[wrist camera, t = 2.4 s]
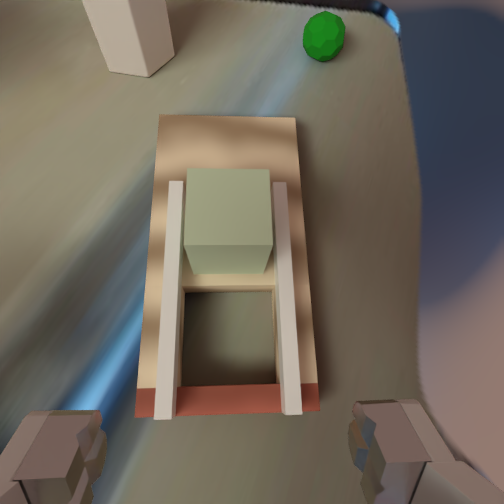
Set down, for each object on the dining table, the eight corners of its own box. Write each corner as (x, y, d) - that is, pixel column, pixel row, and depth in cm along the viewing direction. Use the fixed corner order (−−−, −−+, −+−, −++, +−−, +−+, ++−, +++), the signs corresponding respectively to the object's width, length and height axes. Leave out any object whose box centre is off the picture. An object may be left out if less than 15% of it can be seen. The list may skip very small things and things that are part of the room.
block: (263, 273, 30) (273, 245, 23) (193, 274, 29) (183, 245, 23) (260, 211, 32) (269, 169, 25) (195, 211, 31) (187, 168, 25)
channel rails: (297, 411, 26) (302, 414, 24) (159, 416, 25) (153, 419, 23) (282, 193, 33) (286, 182, 31) (172, 192, 32) (169, 180, 30)
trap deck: (312, 407, 29) (320, 410, 26) (142, 413, 28) (134, 417, 25) (290, 133, 38) (295, 117, 36) (163, 130, 37) (159, 114, 35)
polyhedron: (319, 76, 41) (330, 39, 37) (290, 52, 42) (298, 14, 38) (346, 57, 43) (360, 19, 38) (318, 34, 44) (328, -5, 39)
